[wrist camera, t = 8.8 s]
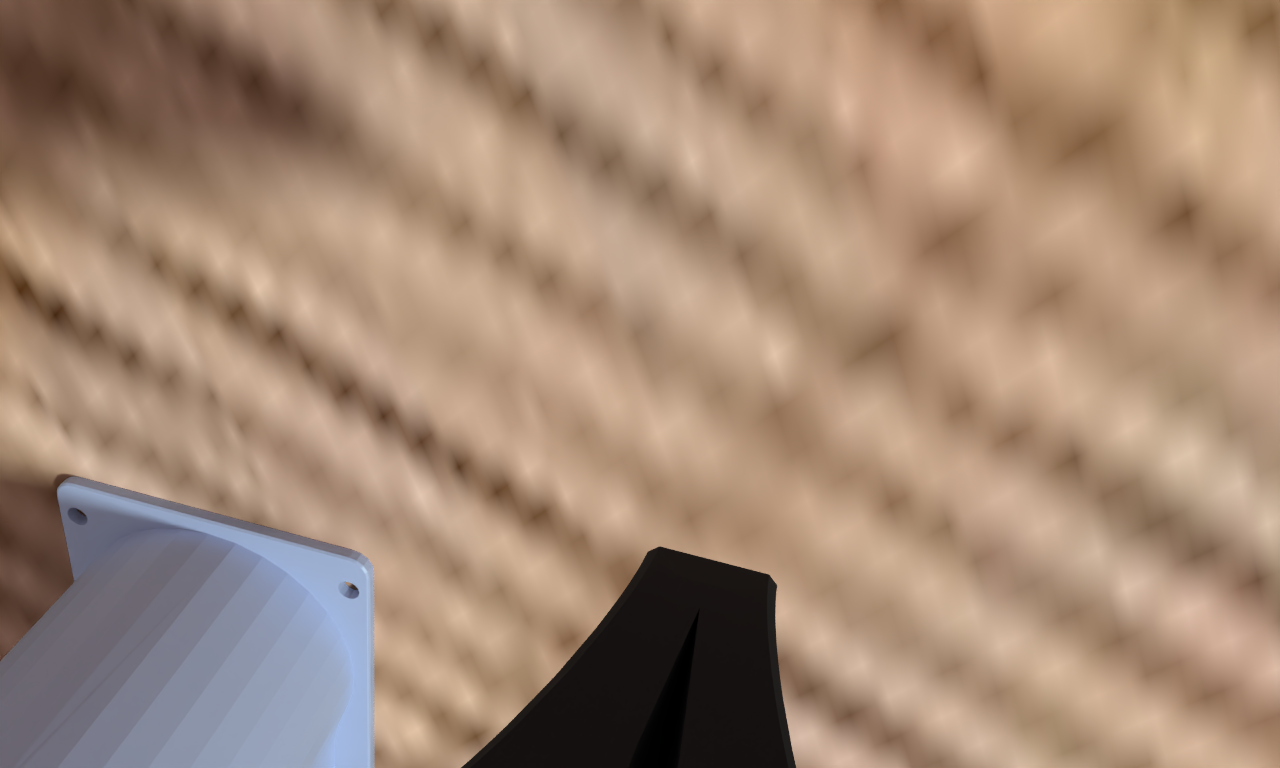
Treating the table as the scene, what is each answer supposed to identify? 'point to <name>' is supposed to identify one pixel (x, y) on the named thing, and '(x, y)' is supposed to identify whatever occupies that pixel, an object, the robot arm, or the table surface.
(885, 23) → the table surface
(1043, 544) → the table surface
